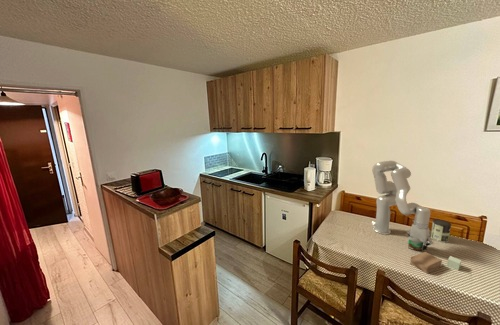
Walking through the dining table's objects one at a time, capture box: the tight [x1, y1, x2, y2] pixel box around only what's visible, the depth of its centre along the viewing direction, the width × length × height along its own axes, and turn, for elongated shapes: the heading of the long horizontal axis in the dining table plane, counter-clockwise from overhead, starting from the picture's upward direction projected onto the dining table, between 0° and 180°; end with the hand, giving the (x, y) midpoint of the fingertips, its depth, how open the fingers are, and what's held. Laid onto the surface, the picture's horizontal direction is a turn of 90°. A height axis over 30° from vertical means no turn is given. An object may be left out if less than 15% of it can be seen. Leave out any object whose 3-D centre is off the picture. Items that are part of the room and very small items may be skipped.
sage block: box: [446, 255, 462, 271], centre depth 122 cm, size 5×5×5 cm
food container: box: [407, 236, 424, 252], centre depth 139 cm, size 12×6×10 cm, turn 106°
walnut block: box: [410, 251, 443, 274], centre depth 124 cm, size 9×14×5 cm, turn 109°
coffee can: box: [429, 218, 452, 244], centre depth 149 cm, size 10×10×14 cm
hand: (417, 246), depth 139 cm, fingers open, 7 cm apart
